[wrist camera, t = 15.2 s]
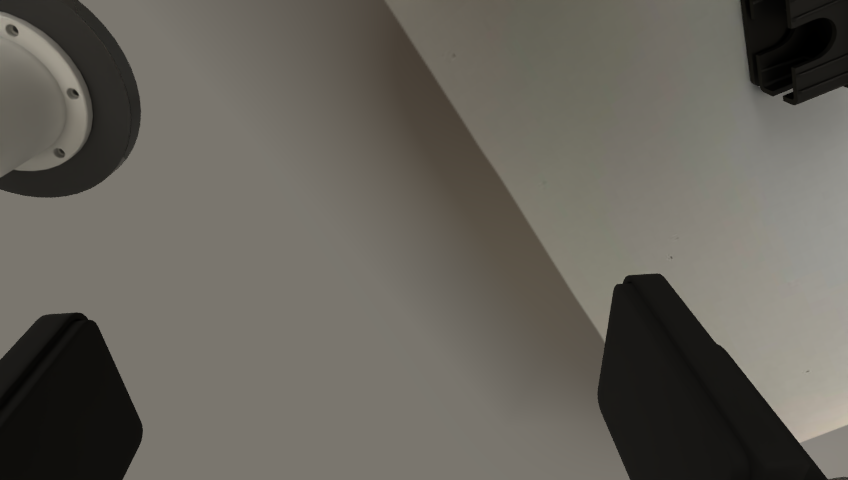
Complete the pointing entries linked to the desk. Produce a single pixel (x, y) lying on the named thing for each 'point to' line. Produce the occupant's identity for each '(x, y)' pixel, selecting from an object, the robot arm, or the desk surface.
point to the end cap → (797, 46)
